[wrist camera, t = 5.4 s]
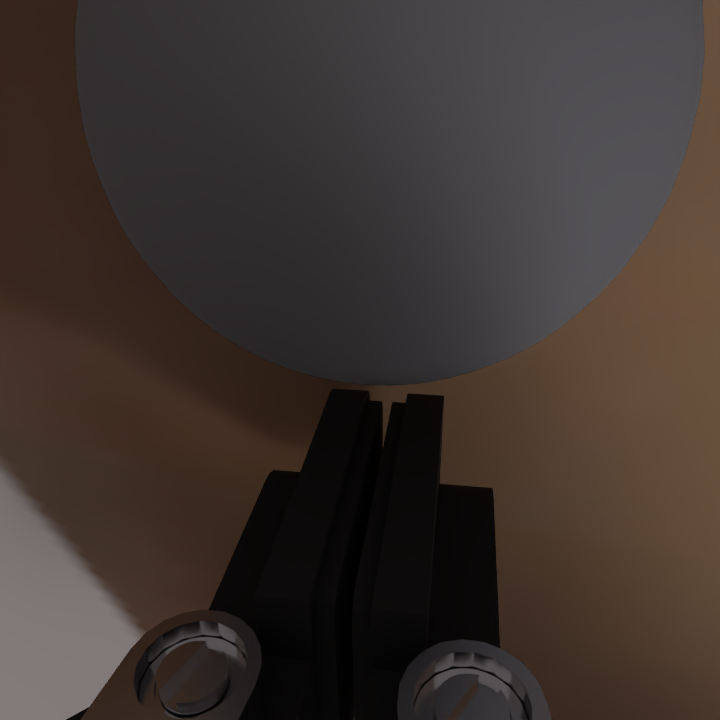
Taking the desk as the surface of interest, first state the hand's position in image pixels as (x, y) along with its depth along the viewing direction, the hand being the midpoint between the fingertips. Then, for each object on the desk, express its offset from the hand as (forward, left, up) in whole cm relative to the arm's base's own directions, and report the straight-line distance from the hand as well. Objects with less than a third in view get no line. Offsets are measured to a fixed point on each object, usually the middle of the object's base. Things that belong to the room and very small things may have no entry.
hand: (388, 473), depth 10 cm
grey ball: (+5, 0, +1) cm, 6 cm away
